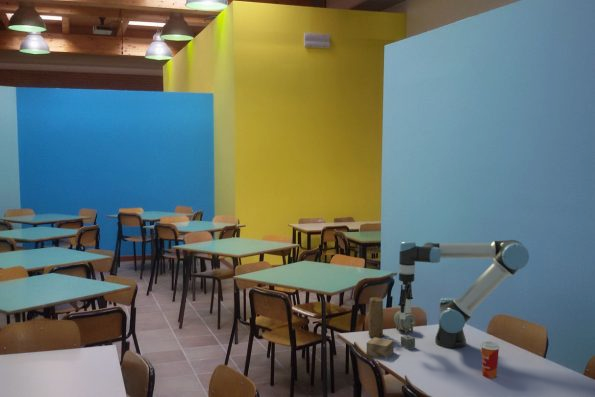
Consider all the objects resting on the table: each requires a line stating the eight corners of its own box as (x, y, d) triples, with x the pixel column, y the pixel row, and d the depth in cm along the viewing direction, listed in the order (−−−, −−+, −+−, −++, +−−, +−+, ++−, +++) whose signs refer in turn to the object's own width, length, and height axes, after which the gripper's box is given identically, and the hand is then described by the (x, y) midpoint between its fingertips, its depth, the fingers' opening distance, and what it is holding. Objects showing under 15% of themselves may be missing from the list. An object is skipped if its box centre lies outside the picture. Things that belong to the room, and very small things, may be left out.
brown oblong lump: (383, 338, 293) (383, 300, 292) (368, 338, 294) (369, 300, 293) (382, 332, 304) (383, 295, 303) (368, 332, 305) (368, 295, 304)
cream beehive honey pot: (401, 325, 317) (402, 306, 316) (423, 333, 303) (423, 313, 302) (387, 328, 311) (387, 308, 311) (408, 336, 297) (408, 315, 296)
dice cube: (406, 349, 277) (406, 339, 277) (400, 346, 282) (400, 336, 281) (414, 347, 279) (415, 338, 279) (408, 345, 284) (409, 335, 283)
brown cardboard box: (393, 352, 273) (393, 340, 272) (386, 358, 264) (386, 346, 263) (373, 349, 277) (374, 337, 277) (366, 355, 269) (366, 342, 268)
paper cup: (477, 372, 247) (478, 340, 246) (495, 372, 247) (496, 341, 246) (483, 379, 239) (483, 346, 238) (501, 379, 239) (502, 346, 238)
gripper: (404, 267, 289) (402, 308, 291) (393, 276, 266) (392, 320, 268) (418, 269, 287) (417, 310, 288) (409, 278, 264) (407, 323, 265)
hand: (405, 315), depth 278 cm, fingers open, 13 cm apart
